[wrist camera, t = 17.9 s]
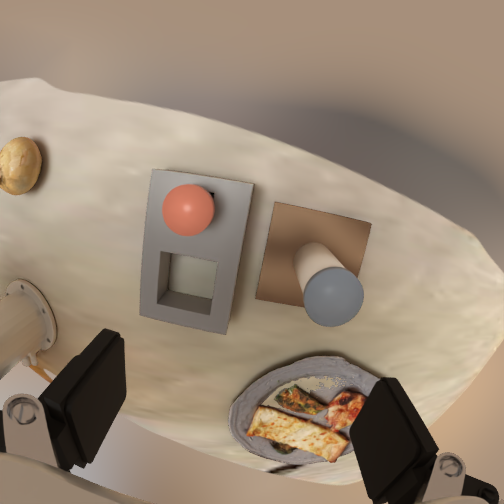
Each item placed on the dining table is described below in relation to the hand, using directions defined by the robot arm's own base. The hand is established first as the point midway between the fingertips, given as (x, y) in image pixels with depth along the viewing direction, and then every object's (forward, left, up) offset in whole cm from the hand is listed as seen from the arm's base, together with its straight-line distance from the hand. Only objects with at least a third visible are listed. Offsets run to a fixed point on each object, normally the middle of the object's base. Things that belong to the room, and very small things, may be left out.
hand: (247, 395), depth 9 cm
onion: (+5, +34, -24) cm, 41 cm away
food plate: (-25, -13, -24) cm, 37 cm away
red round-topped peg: (+3, +7, -23) cm, 24 cm away
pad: (-1, -6, -23) cm, 24 cm away
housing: (-2, +7, -23) cm, 24 cm away
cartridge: (-1, -6, -23) cm, 23 cm away
